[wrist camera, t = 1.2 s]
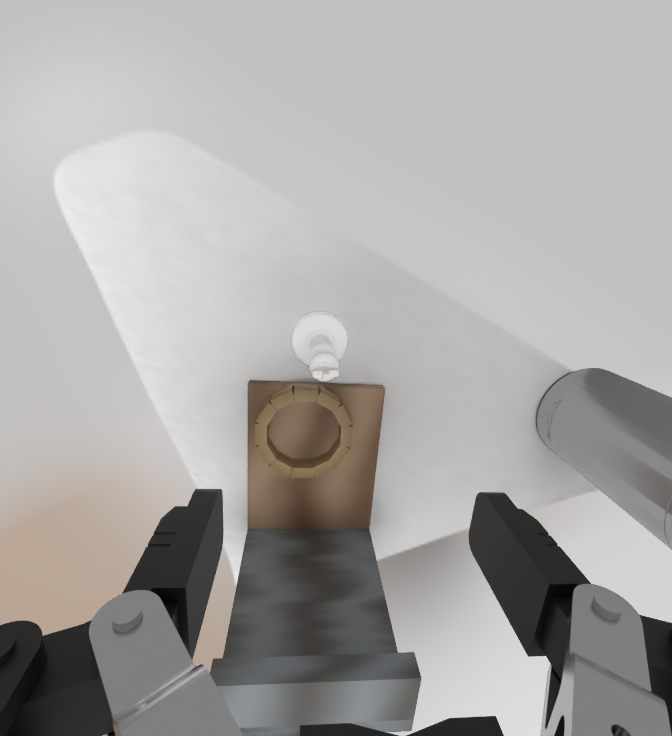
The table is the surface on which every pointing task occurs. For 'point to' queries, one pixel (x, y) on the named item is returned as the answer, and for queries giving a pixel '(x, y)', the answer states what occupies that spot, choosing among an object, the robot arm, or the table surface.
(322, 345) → the chess piece
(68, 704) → the robot arm
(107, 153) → the table surface
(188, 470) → the table surface
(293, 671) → the base
